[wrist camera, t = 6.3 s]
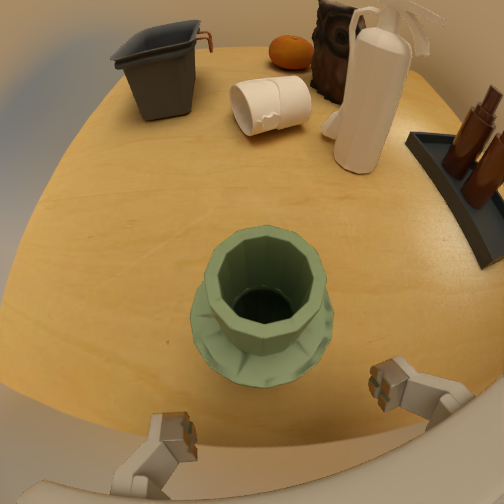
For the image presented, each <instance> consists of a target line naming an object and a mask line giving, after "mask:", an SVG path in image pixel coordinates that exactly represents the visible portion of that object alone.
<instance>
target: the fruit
mask: <svg viewBox="0 0 504 504" xmlns="http://www.w3.org/2000/svg"><path fill="white" fill-rule="evenodd" d="M313 53H314V48H313V46H312V45H311V44H310V43H309V42H308V41H307V40H305V39H303V38H301V37H297V36H289V35H287V36H281V37H278V38H276V39H274V41H272V43H271V44H270V47H269V56H270V59H271V60H272V62H273V63H274V64H276V65H277V66H279V67H282V68H285V69H303V68H306V67H308V66H309V65H311V62H312V56H313Z"/></svg>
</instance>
